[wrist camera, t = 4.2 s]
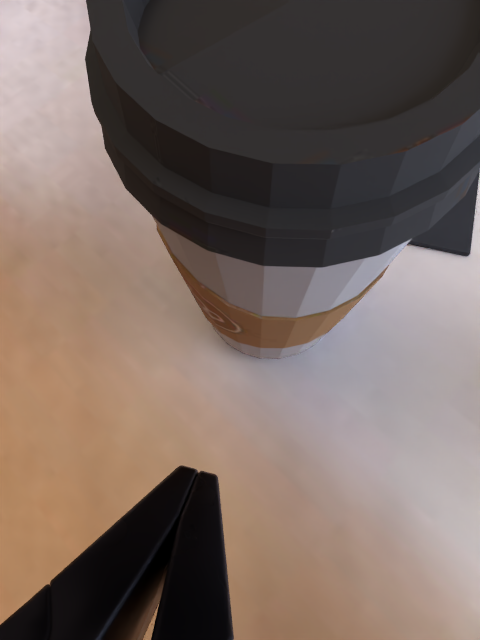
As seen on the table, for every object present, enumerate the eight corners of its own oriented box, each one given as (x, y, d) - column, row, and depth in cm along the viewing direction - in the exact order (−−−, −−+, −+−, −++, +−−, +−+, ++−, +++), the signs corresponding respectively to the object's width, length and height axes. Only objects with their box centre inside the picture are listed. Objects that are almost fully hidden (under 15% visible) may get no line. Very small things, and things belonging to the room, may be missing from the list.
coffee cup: (153, 279, 22) (-31, -55, 8) (287, 194, 23) (343, -229, 9) (250, 419, 20) (245, 315, 6) (392, 316, 21) (688, 15, 7)
